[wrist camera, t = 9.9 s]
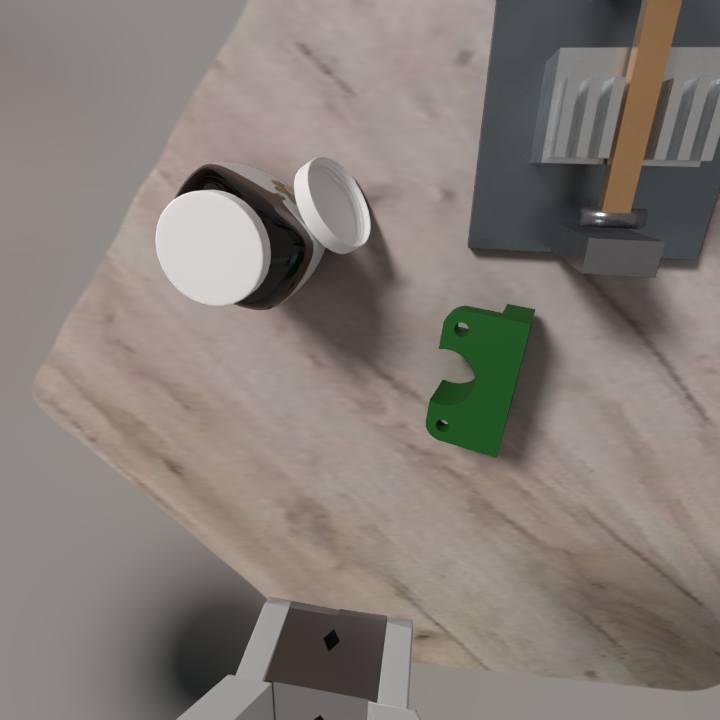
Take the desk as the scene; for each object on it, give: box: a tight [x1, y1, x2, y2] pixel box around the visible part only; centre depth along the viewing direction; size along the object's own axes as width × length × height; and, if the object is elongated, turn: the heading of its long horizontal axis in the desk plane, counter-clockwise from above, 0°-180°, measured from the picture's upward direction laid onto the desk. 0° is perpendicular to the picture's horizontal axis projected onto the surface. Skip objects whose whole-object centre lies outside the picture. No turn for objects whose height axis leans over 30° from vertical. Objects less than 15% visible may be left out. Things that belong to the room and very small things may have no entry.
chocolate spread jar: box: [156, 156, 371, 310], centre depth 32 cm, size 12×11×12 cm
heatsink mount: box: [468, 0, 720, 278], centre depth 27 cm, size 16×17×10 cm
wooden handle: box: [578, 0, 682, 229], centre depth 26 cm, size 4×13×1 cm, turn 178°
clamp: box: [426, 304, 535, 457], centre depth 37 cm, size 12×6×9 cm, turn 169°
